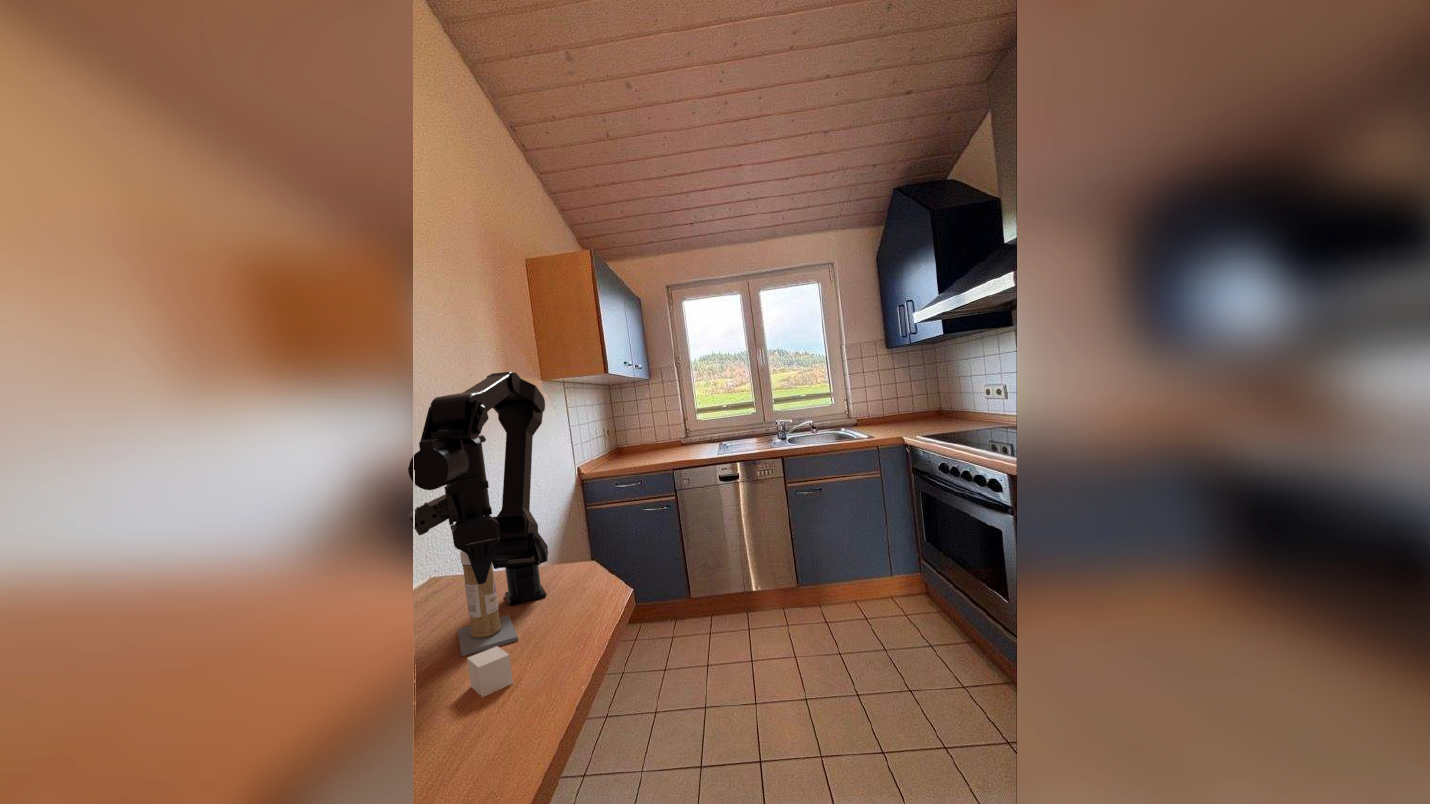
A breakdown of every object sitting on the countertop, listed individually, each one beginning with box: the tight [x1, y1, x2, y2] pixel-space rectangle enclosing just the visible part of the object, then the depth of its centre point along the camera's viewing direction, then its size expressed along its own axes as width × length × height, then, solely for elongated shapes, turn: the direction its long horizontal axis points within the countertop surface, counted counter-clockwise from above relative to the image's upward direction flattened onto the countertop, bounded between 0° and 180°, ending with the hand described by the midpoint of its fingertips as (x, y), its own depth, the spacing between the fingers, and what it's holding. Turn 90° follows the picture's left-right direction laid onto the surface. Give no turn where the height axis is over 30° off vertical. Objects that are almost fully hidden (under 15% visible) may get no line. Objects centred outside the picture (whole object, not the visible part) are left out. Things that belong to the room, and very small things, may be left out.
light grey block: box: [466, 646, 514, 698], centre depth 79 cm, size 4×4×4 cm
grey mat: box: [456, 614, 519, 657], centre depth 95 cm, size 10×8×1 cm
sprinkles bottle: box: [459, 550, 501, 638], centre depth 95 cm, size 5×5×14 cm
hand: (479, 575), depth 94 cm, fingers open, 9 cm apart
